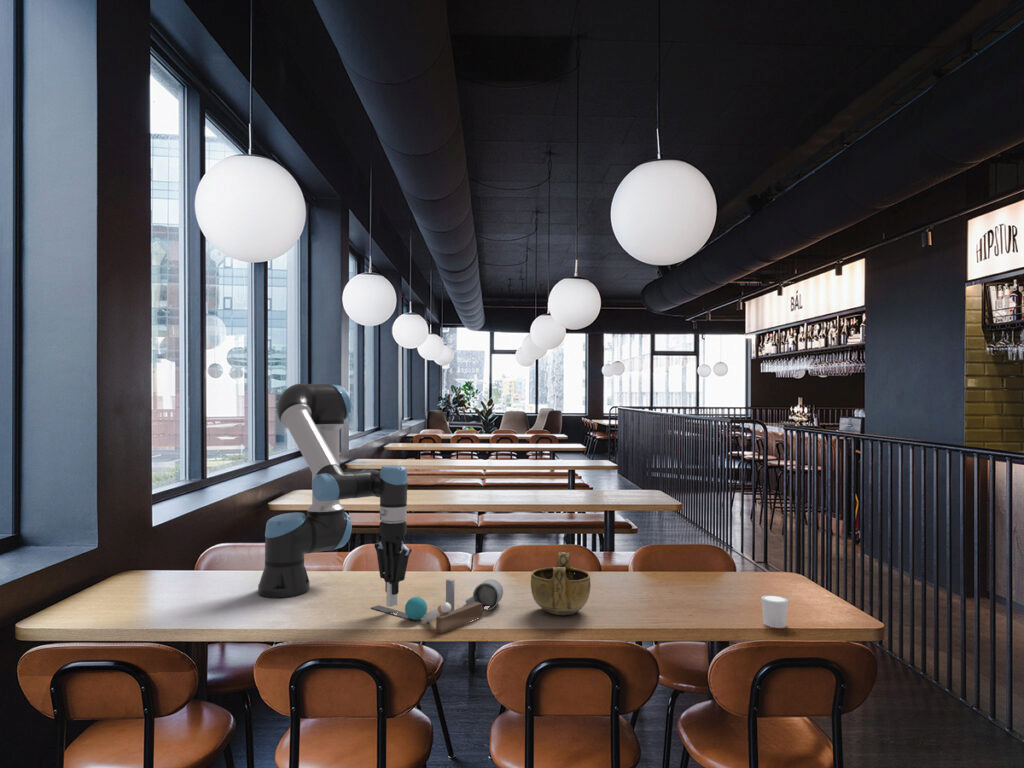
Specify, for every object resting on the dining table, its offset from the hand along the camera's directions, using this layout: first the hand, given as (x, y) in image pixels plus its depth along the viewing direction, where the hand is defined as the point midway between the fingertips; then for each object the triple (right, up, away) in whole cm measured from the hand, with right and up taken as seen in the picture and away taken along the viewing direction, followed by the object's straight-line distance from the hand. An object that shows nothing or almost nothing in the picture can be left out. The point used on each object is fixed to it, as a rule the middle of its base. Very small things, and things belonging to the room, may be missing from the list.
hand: (391, 605), depth 183 cm
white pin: (+11, -1, -8) cm, 14 cm away
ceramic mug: (+26, -3, +6) cm, 27 cm away
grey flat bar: (+1, -2, -1) cm, 2 cm away
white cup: (+105, -3, -7) cm, 105 cm away
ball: (+8, +1, -6) cm, 10 cm away
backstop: (+20, -2, -10) cm, 22 cm away
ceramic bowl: (+48, -3, +2) cm, 48 cm away
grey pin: (+16, -2, 0) cm, 17 cm away
